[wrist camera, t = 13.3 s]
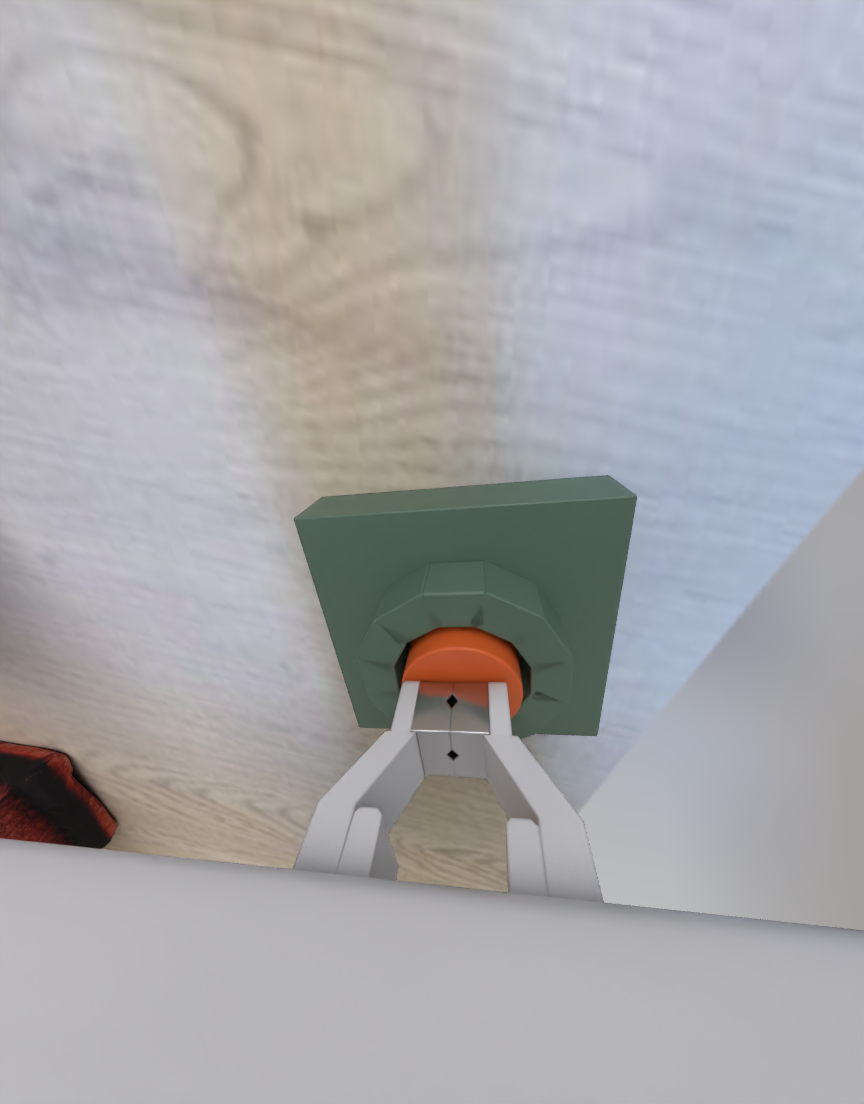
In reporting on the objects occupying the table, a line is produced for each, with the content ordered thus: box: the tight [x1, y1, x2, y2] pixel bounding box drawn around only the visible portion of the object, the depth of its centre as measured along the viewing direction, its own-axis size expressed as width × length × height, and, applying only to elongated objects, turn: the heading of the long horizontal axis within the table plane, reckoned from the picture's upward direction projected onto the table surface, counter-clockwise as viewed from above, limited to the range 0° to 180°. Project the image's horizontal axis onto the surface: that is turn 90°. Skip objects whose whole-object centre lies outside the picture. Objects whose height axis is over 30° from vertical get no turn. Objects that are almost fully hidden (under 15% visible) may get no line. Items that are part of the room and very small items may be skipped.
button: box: [402, 627, 523, 719], centre depth 11 cm, size 4×4×2 cm
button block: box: [294, 475, 637, 739], centre depth 12 cm, size 10×10×4 cm
